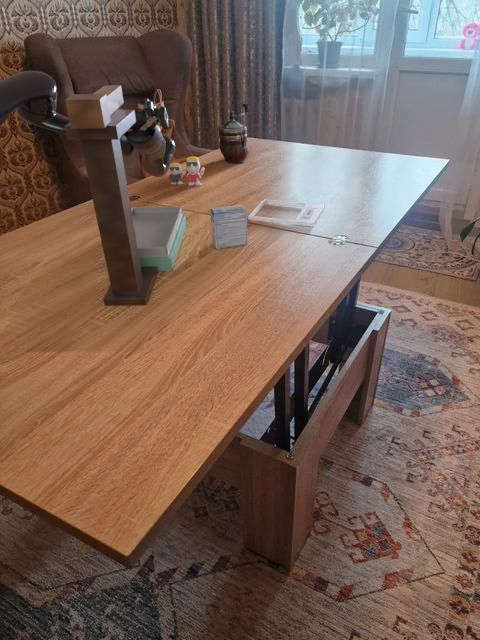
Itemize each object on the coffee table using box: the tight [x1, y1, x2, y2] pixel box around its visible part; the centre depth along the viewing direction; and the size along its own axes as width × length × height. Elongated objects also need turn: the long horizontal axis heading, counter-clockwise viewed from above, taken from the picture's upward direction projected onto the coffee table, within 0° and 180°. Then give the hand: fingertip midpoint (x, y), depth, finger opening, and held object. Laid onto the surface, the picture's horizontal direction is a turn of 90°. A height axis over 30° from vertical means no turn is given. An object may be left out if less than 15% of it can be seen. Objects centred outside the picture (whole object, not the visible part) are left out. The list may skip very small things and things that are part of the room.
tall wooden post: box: [64, 109, 159, 307], centre depth 89 cm, size 8×14×32 cm, turn 1°
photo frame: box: [247, 198, 326, 228], centre depth 132 cm, size 15×1×18 cm
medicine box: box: [209, 204, 249, 250], centre depth 114 cm, size 8×4×9 cm, turn 108°
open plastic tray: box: [104, 206, 187, 272], centre depth 114 cm, size 14×27×5 cm, turn 1°
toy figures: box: [168, 156, 206, 187], centre depth 154 cm, size 12×4×8 cm, turn 79°
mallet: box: [64, 84, 125, 129], centre depth 81 cm, size 5×24×4 cm, turn 4°
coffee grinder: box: [218, 103, 250, 164], centre depth 175 cm, size 13×15×18 cm
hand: (123, 103), depth 93 cm, fingers open, 8 cm apart
